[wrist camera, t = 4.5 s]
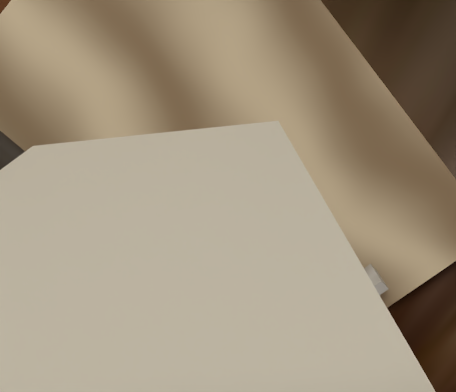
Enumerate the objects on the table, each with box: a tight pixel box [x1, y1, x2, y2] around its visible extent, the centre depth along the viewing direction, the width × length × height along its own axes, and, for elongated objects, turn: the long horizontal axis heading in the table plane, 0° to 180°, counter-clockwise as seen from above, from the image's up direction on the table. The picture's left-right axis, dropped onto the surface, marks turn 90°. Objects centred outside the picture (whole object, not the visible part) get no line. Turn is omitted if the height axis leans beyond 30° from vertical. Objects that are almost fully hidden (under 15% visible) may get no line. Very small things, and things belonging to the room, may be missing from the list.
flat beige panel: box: [0, 0, 456, 308], centre depth 18 cm, size 14×22×4 cm, turn 43°
